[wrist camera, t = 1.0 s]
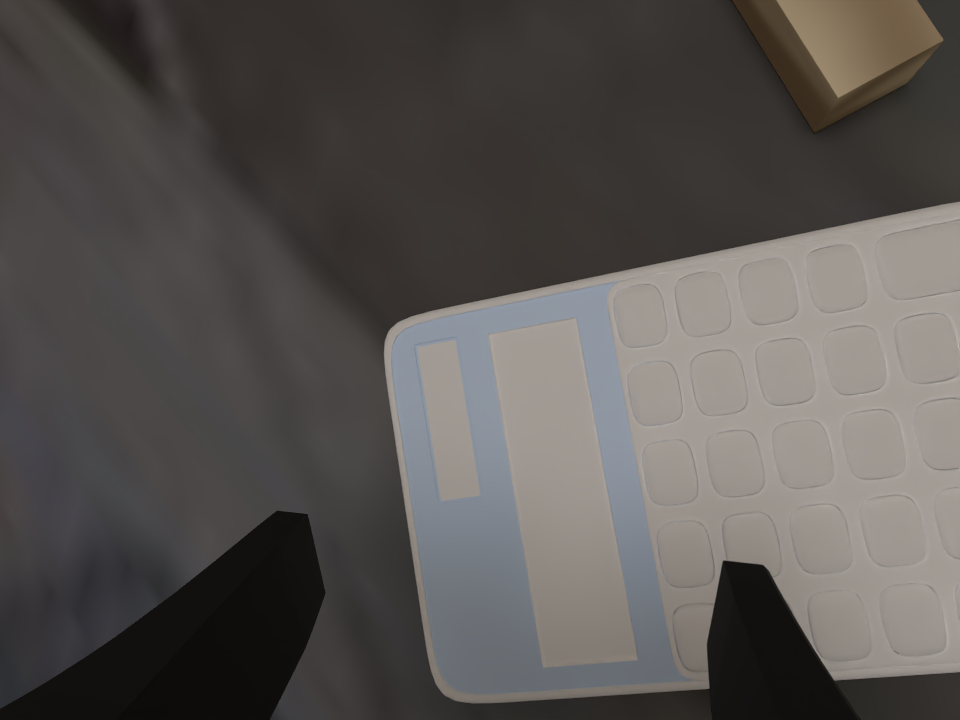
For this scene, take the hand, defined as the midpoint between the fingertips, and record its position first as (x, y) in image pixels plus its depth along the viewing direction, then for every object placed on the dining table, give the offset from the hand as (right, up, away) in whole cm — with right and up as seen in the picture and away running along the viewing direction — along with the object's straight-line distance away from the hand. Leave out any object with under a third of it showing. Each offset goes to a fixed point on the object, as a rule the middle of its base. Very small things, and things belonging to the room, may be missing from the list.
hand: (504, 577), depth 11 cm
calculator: (+7, 0, +10) cm, 12 cm away
